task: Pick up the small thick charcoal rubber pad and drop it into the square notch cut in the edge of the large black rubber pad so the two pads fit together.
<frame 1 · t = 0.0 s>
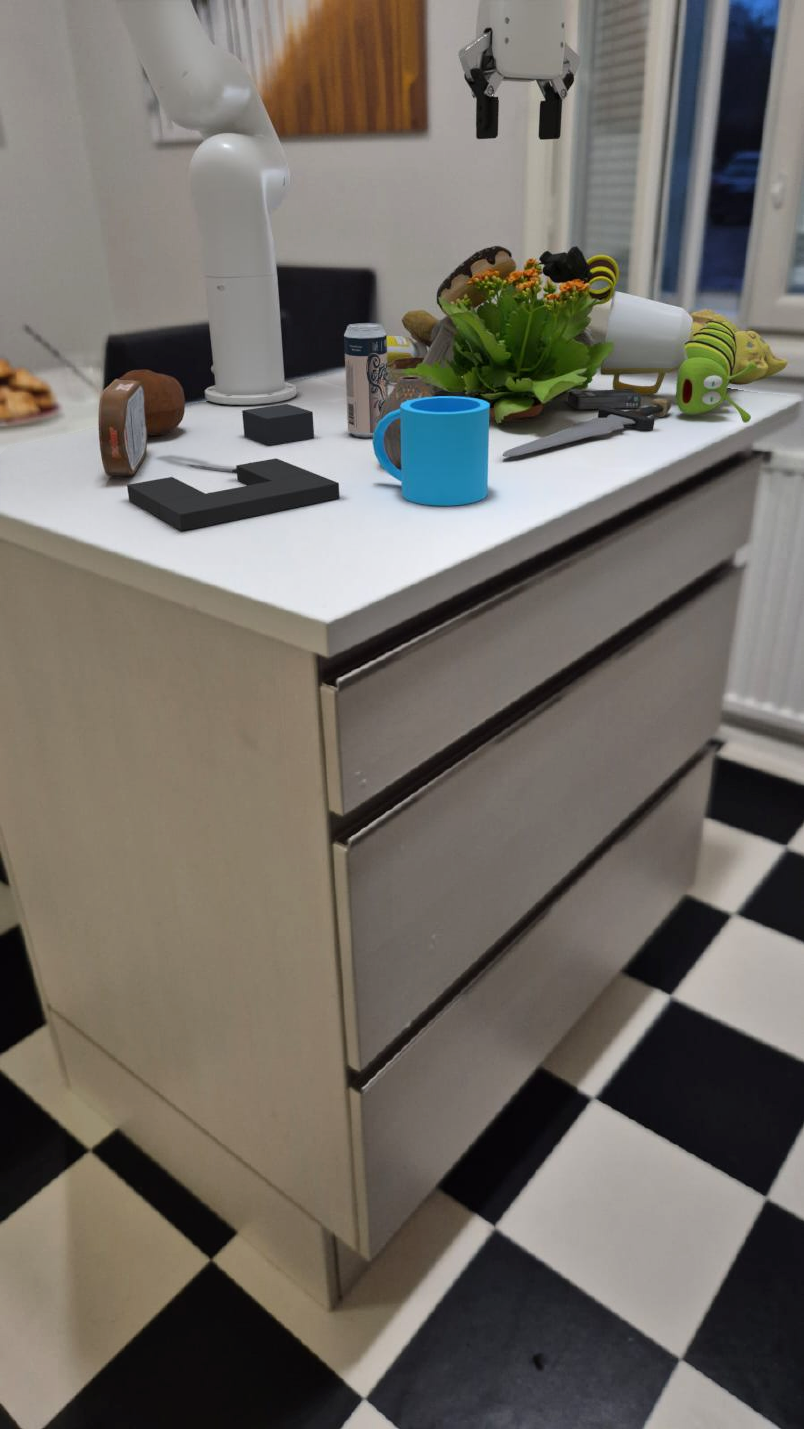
hand: (518, 138, 116), 30 cm above the table, tool pointing down, fingers open, 9 cm apart
opera glasses: (568, 285, 126), point 14 cm above the table, touching mug 2, potted flower, rock
knife: (220, 472, 104), on the table
base pad: (234, 499, 93), on the table
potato: (150, 437, 118), on the table
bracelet: (414, 381, 146), on the table, touching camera
small pad: (279, 437, 116), on the table
figurine: (680, 341, 144), point 5 cm above the table, touching toy
rock: (525, 384, 139), point 1 cm above the table, touching opera glasses
beer can: (368, 435, 116), on the table
mini dv tape: (609, 402, 126), point 1 cm above the table
supplement bottle: (362, 353, 148), point 3 cm above the table, touching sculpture
potted flower: (500, 412, 126), on the table, touching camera, donut, opera glasses, toy gun
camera: (434, 379, 140), point 1 cm above the table, touching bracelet, donut, potted flower
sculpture: (448, 339, 147), point 5 cm above the table, touching supplement bottle
mug: (427, 492, 95), on the table
tin: (131, 468, 105), on the table
toy: (691, 353, 129), point 6 cm above the table, touching figurine, mug 2
vase: (411, 466, 104), on the table
toy gun: (542, 254, 122), point 18 cm above the table, touching potted flower
donut: (483, 296, 126), point 13 cm above the table, touching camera, potted flower
mug 2: (688, 351, 128), point 6 cm above the table, touching opera glasses, toy
dagger: (623, 395, 125), point 2 cm above the table
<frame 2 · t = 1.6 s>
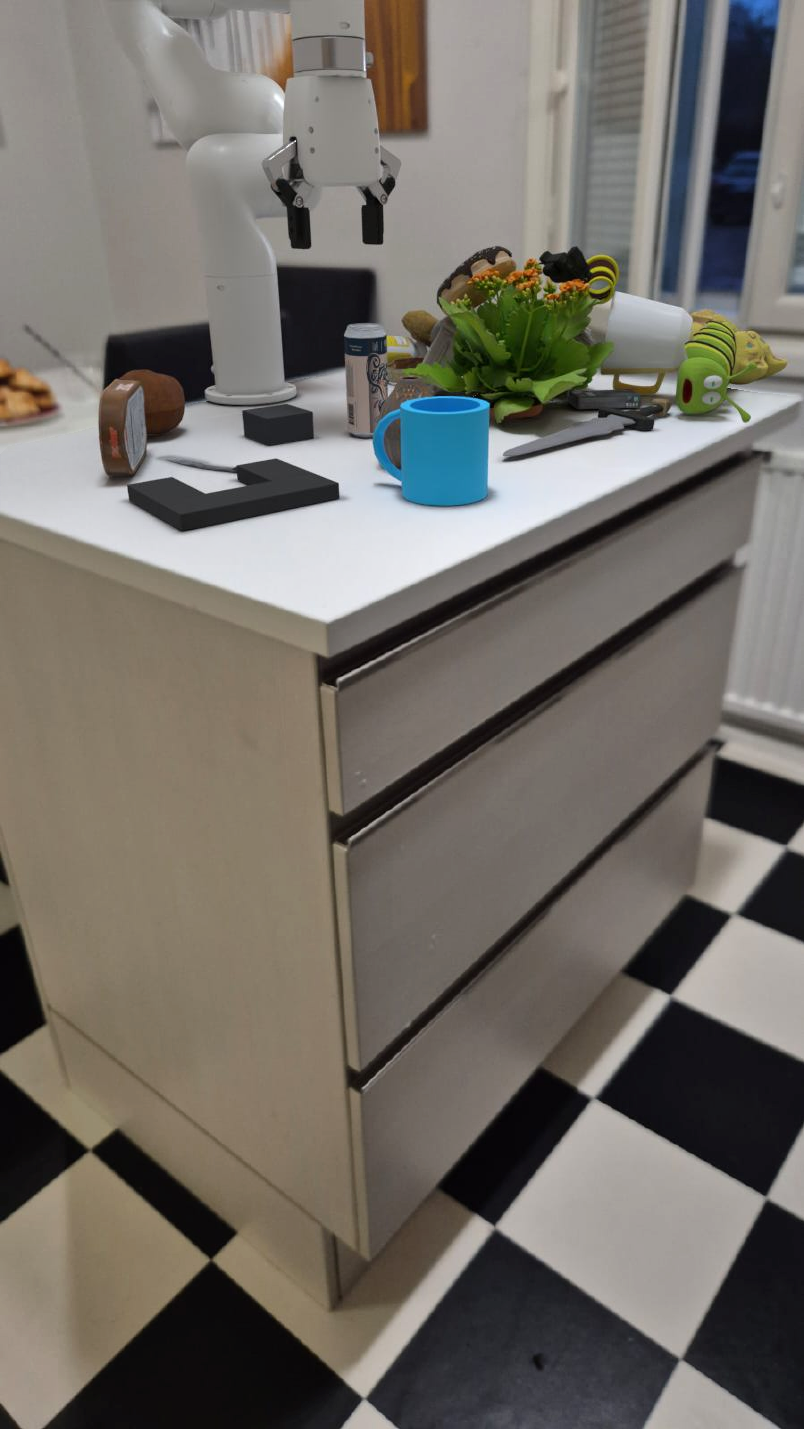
hand: (337, 246, 110), 20 cm above the table, tool pointing down, fingers open, 9 cm apart
potted flower: (500, 412, 126), on the table, touching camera, donut, mug 2, opera glasses, toy gun
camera: (434, 379, 140), point 1 cm above the table, touching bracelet, donut, potted flower
mug 2: (688, 351, 128), point 6 cm above the table, touching opera glasses, potted flower, toy
everything else where it was.
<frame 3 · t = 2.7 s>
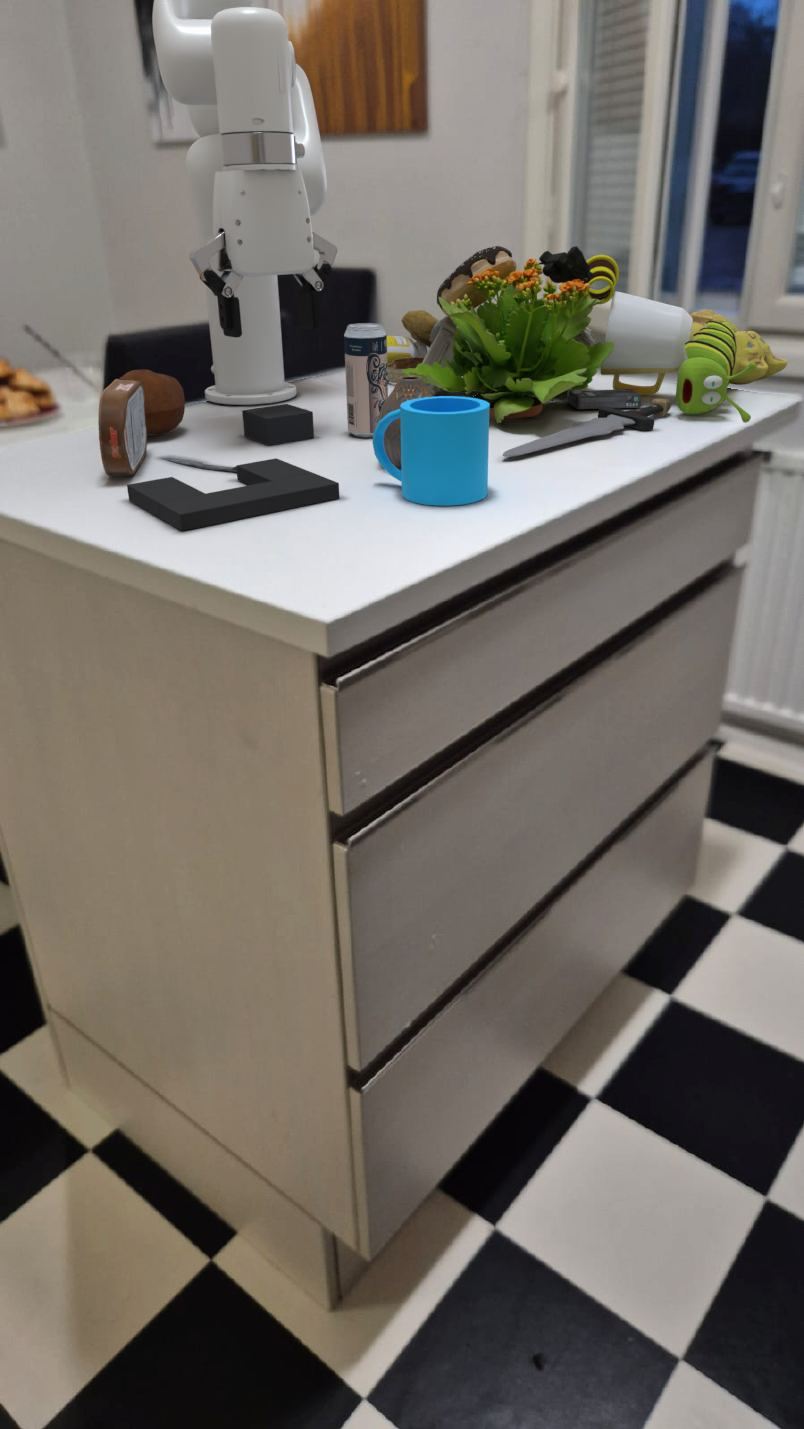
hand: (272, 332, 110), 12 cm above the table, tool pointing down, fingers open, 9 cm apart
potted flower: (500, 412, 126), on the table, touching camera, donut, opera glasses, toy gun
mug 2: (688, 351, 128), point 6 cm above the table, touching opera glasses, toy
everything else where it was.
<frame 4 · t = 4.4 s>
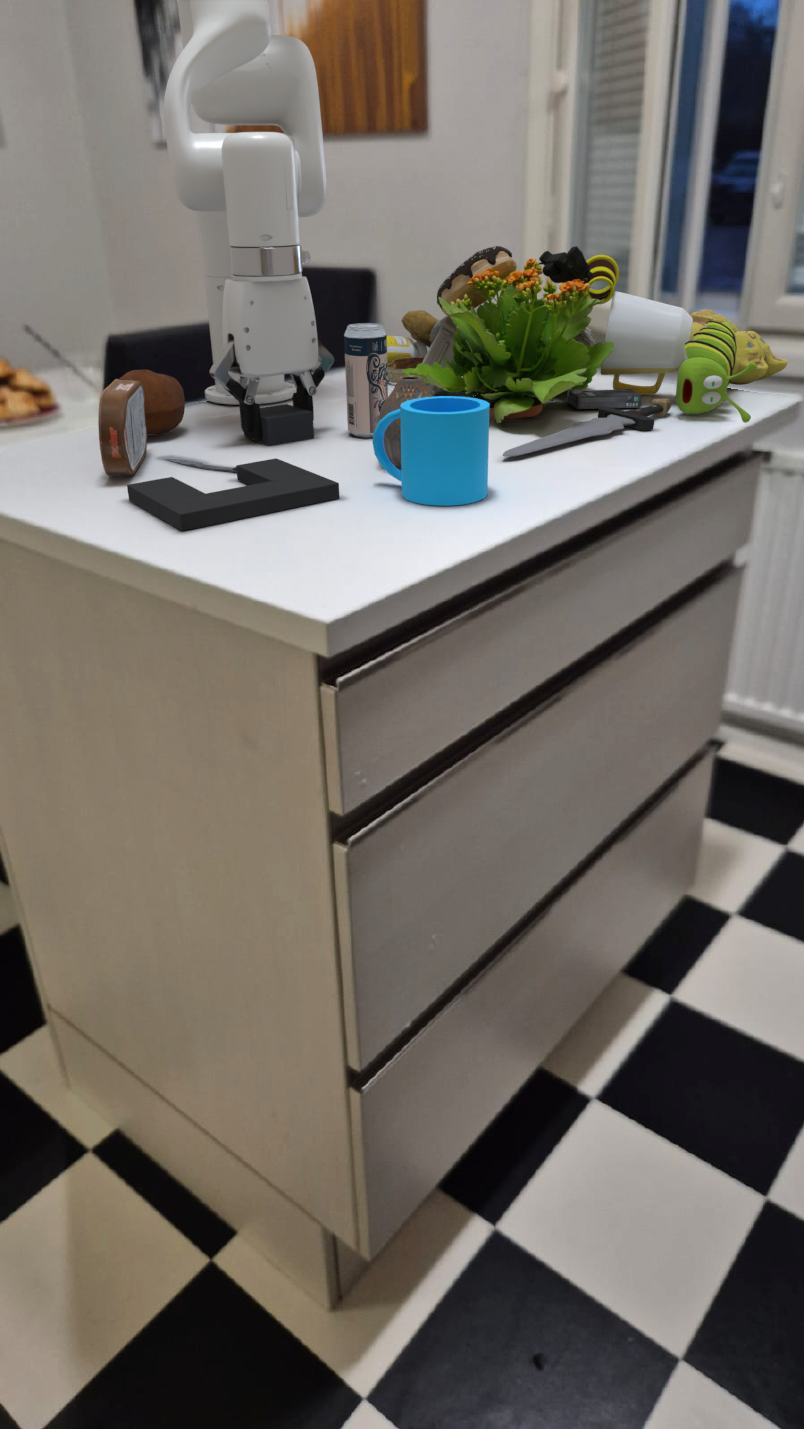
hand: (278, 432, 115), 1 cm above the table, tool pointing down, fingers closed on small pad, 6 cm apart
small pad: (279, 437, 116), on the table, touching gripper
everything else where it was.
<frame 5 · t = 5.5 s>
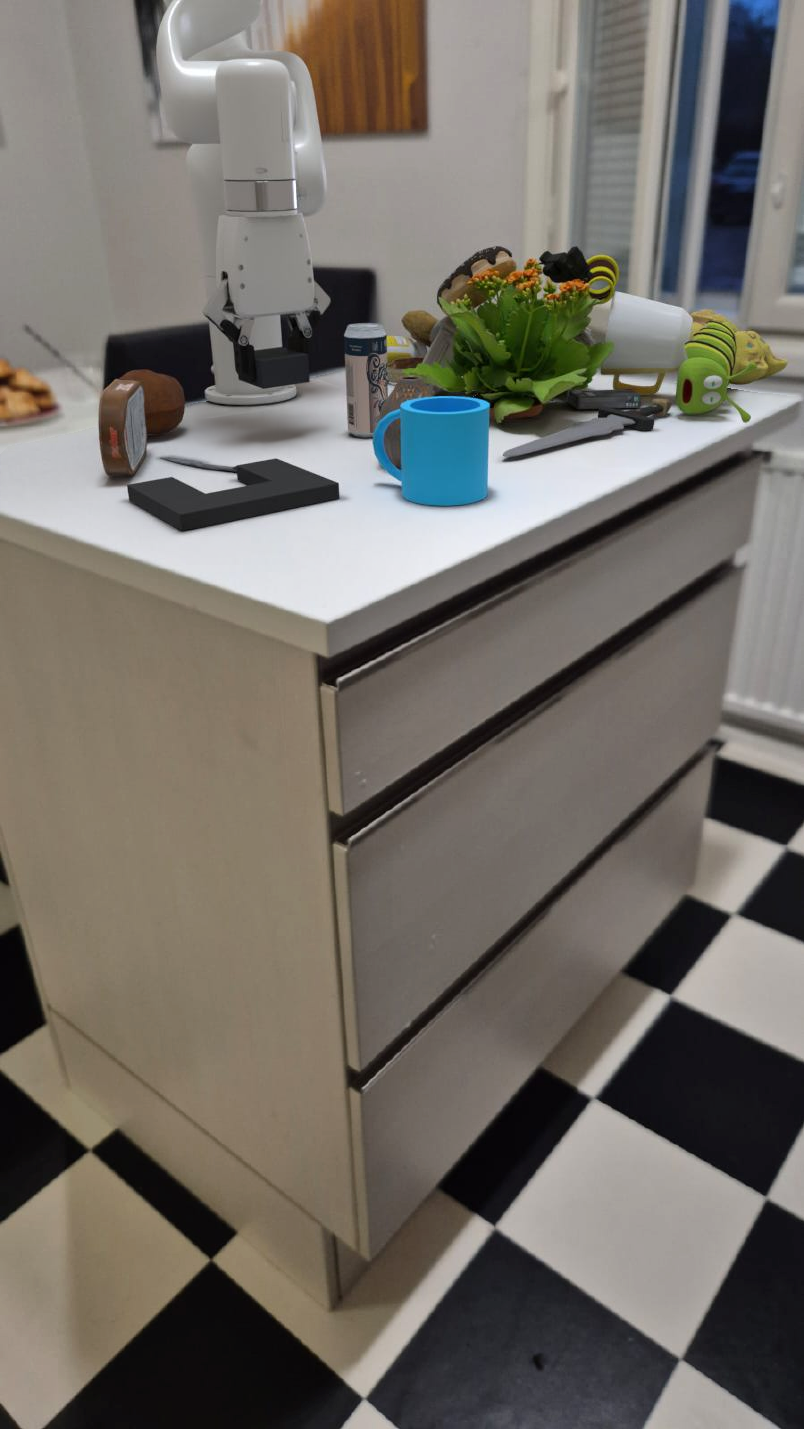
hand: (273, 375, 113), 7 cm above the table, tool pointing down, fingers closed on small pad, 6 cm apart
knife: (220, 469, 104), on the table, touching base pad
small pad: (273, 381, 113), point 6 cm above the table, touching gripper
everything else where it was.
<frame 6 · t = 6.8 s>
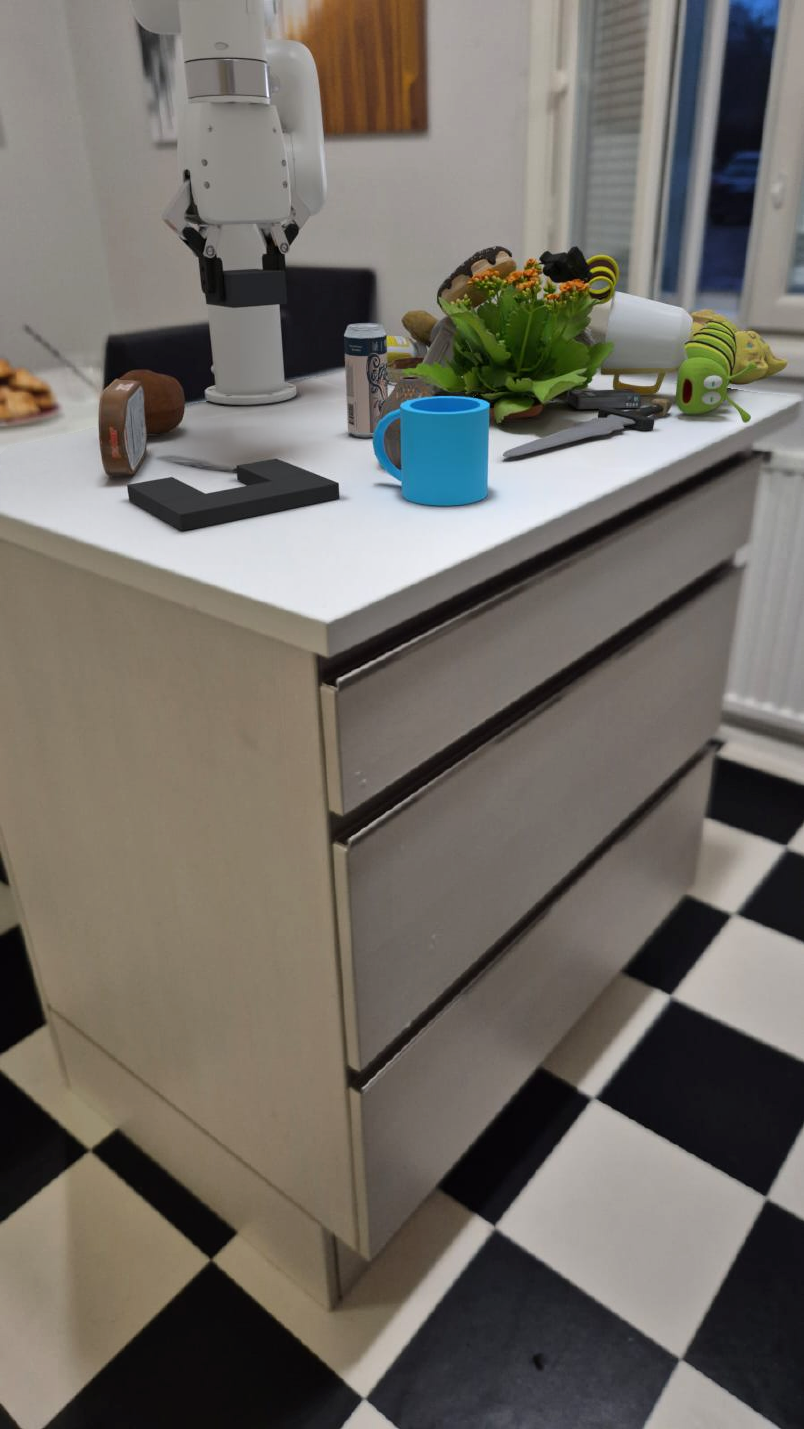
hand: (245, 297, 99), 16 cm above the table, tool pointing down, fingers closed on small pad, 6 cm apart
knife: (221, 471, 104), on the table
small pad: (246, 304, 99), point 16 cm above the table, touching gripper
everything else where it was.
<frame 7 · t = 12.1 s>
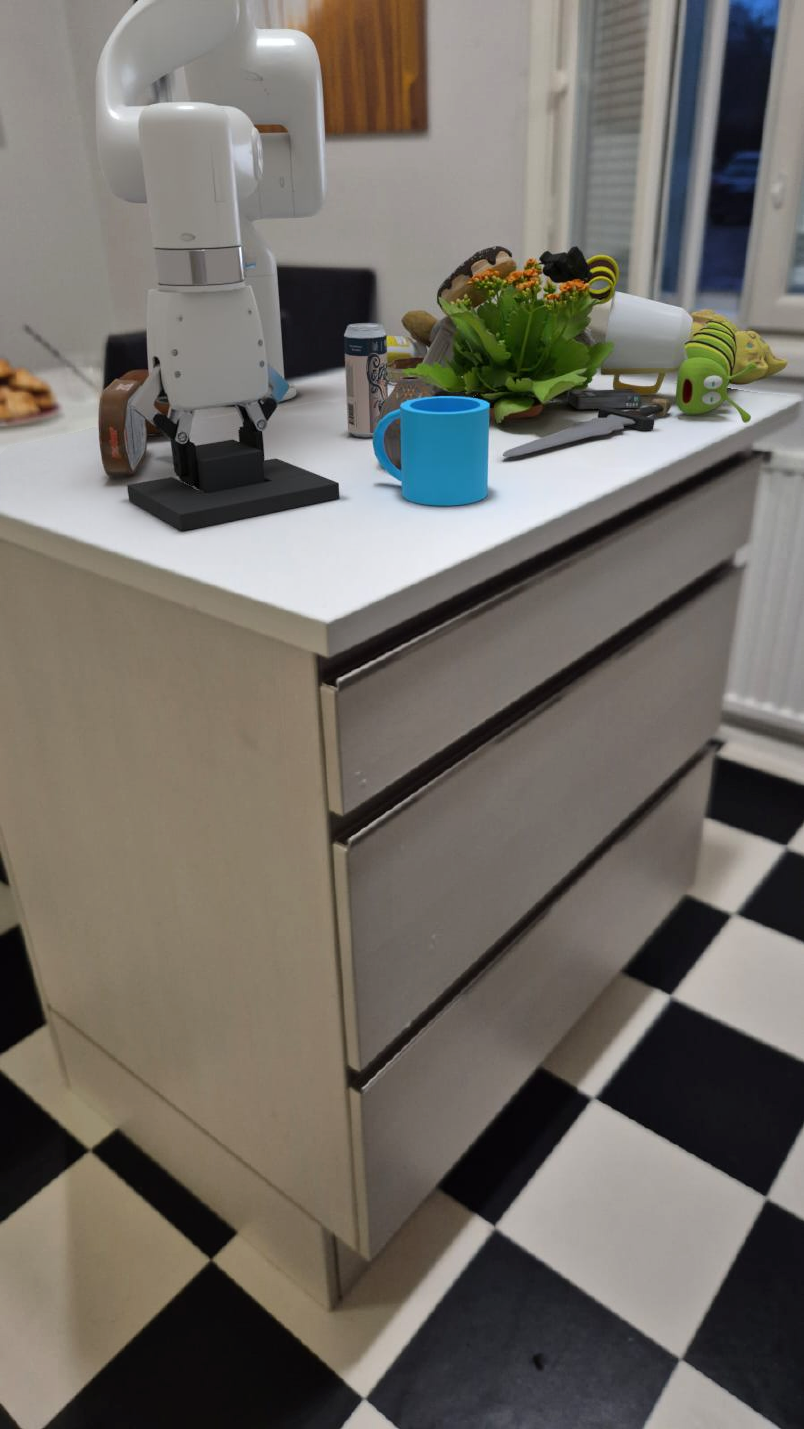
hand: (221, 475, 94), 2 cm above the table, tool pointing down, fingers closed on small pad, 5 cm apart
small pad: (222, 481, 94), point 1 cm above the table, touching gripper
everything else where it was.
when the fingers open (2 cm above the table, at t = 14.6 s): small pad drops 1 cm, on the table.
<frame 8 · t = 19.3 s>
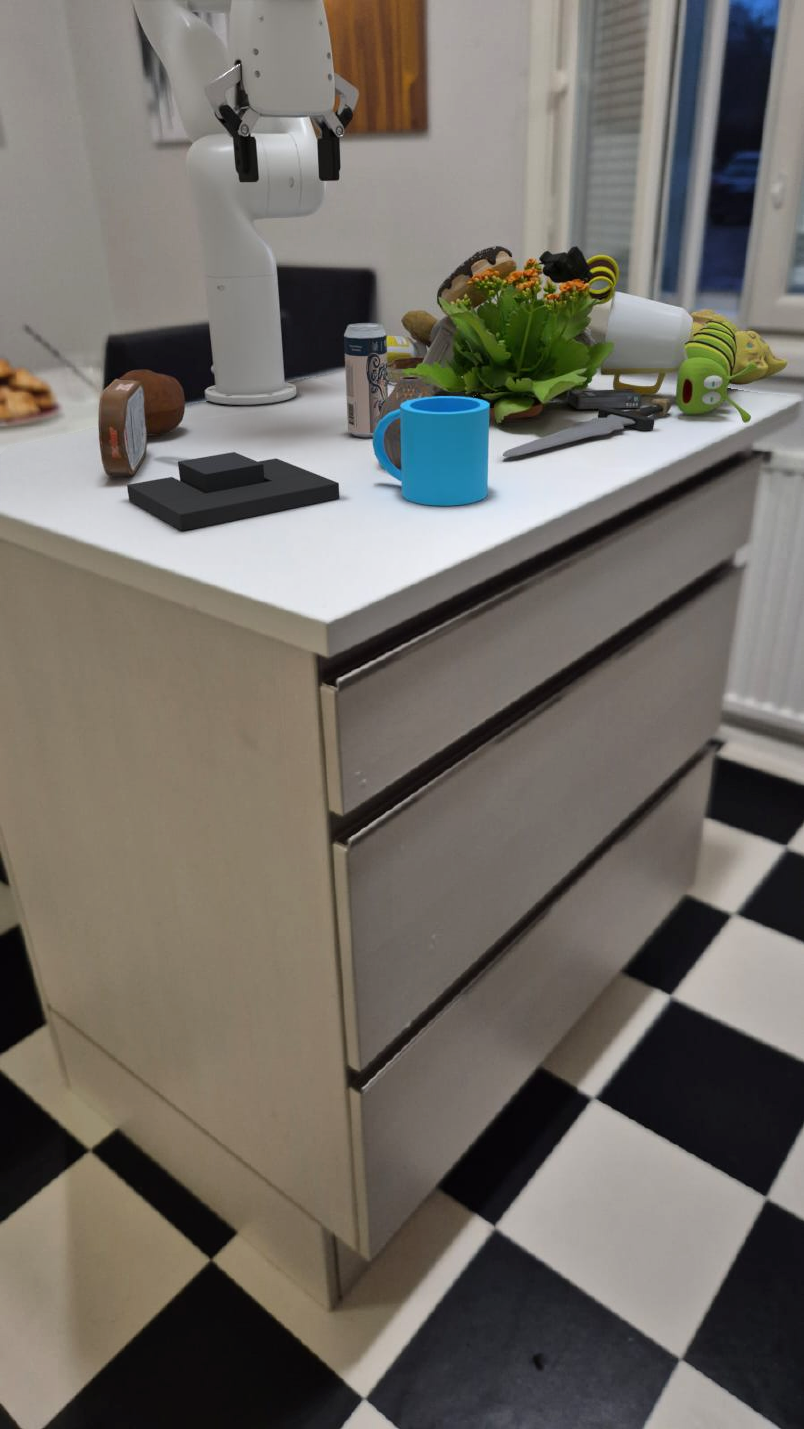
hand: (290, 181, 104), 26 cm above the table, tool pointing down, fingers open, 9 cm apart
small pad: (223, 493, 95), on the table
everything else where it was.
at the end: small pad 0.1 cm from the target spot on the base pad, point 0.0 cm above the base pad's base; small pad tilted 0°; the gripper is holding nothing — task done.
